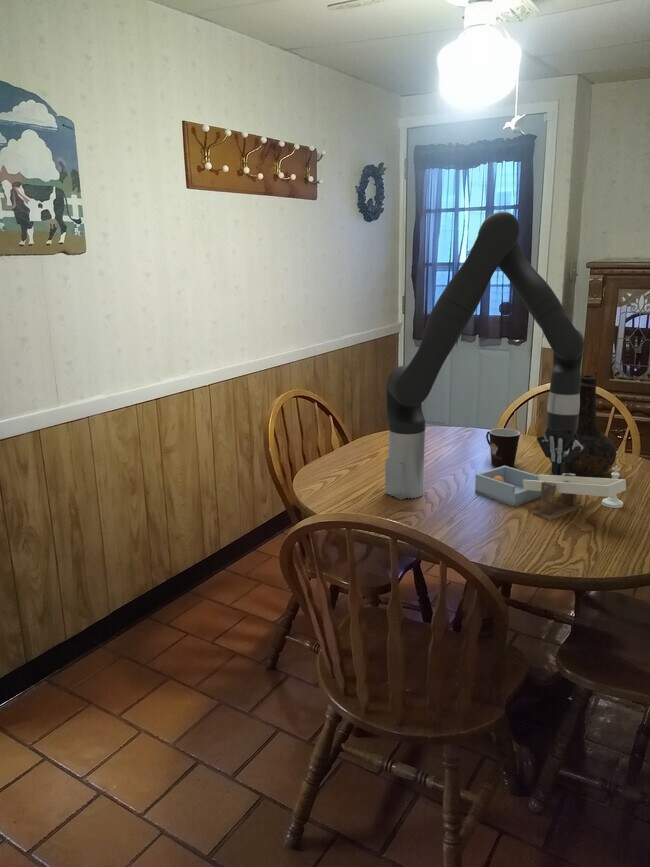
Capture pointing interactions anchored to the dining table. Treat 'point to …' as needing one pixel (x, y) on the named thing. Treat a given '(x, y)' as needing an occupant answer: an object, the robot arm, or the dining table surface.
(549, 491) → the stand
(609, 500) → the chess piece
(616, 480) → the lever
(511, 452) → the coffee mug
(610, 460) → the glass bottle
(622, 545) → the dining table surface
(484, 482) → the bin
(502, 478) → the ball
